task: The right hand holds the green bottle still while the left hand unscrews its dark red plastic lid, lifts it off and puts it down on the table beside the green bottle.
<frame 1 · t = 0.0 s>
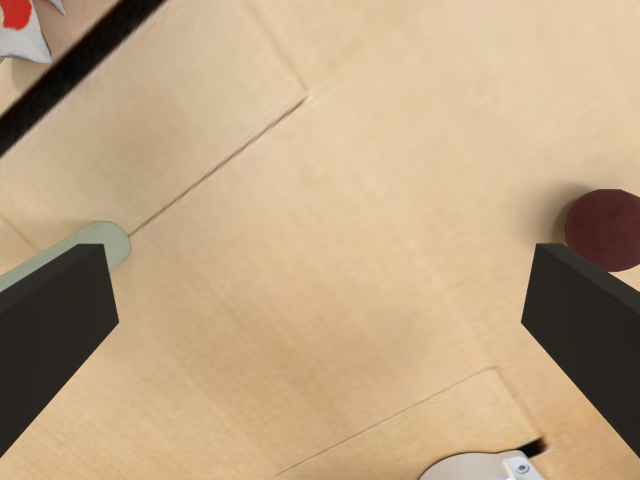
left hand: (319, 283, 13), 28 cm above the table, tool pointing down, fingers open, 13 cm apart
green bottle: (106, 243, 42), on the table
dark red ball: (585, 217, 41), on the table
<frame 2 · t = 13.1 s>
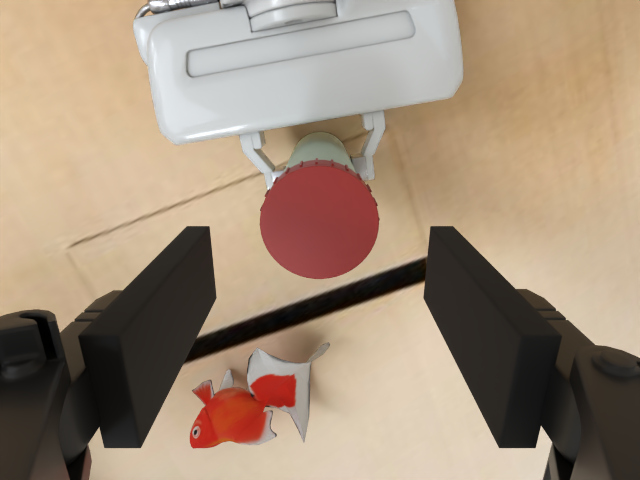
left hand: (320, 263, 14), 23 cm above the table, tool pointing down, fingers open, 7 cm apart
right hand: (322, 186, 30), fingers closed on green bottle, 5 cm apart
fish: (266, 365, 43), on the table
lid: (319, 222, 18), point 18 cm above the table, screwed on, not yet turned
green bottle: (319, 160, 35), on the table, touching right hand
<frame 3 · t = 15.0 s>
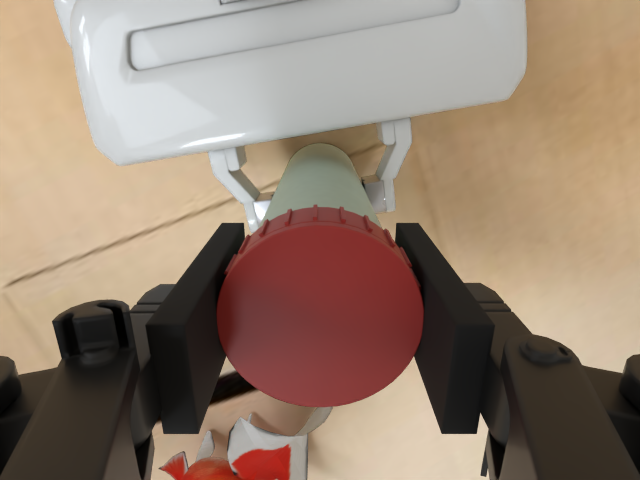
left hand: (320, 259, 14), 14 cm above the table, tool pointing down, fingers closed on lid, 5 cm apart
right hand: (323, 219, 22), fingers closed on green bottle, 5 cm apart
fish: (254, 425, 35), on the table
lid: (320, 317, 11), point 18 cm above the table, screwed on, not yet turned, touching left hand
green bottle: (320, 179, 28), on the table, touching right hand
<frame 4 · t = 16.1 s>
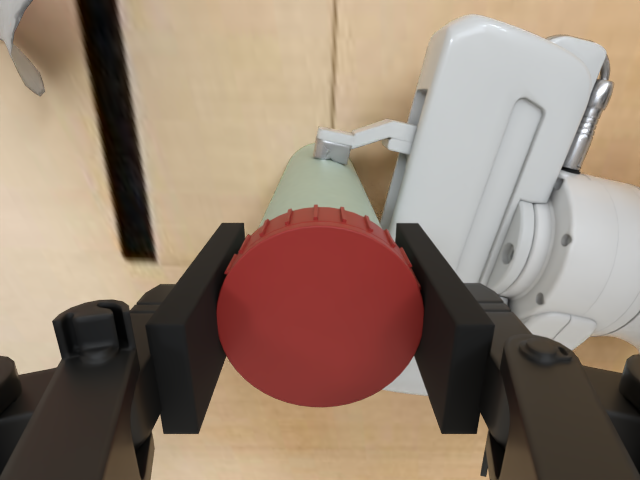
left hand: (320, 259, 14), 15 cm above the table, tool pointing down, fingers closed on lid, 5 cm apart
right hand: (303, 199, 22), fingers closed on green bottle, 5 cm apart
lid: (320, 317, 11), point 18 cm above the table, off its thread, touching left hand
green bottle: (320, 178, 28), on the table, touching right hand
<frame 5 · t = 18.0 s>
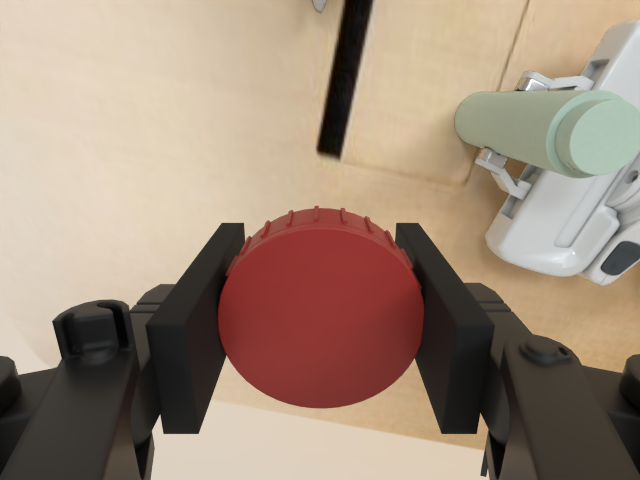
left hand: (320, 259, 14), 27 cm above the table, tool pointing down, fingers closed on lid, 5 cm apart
right hand: (500, 119, 32), fingers closed on green bottle, 5 cm apart
lid: (321, 319, 11), point 31 cm above the table, off its thread, touching left hand
green bottle: (480, 119, 38), on the table, touching right hand
when the left hand's fingers open (0 cm above the table, at t = 22.4 s): lid drops 3 cm, point 1 cm above the table.
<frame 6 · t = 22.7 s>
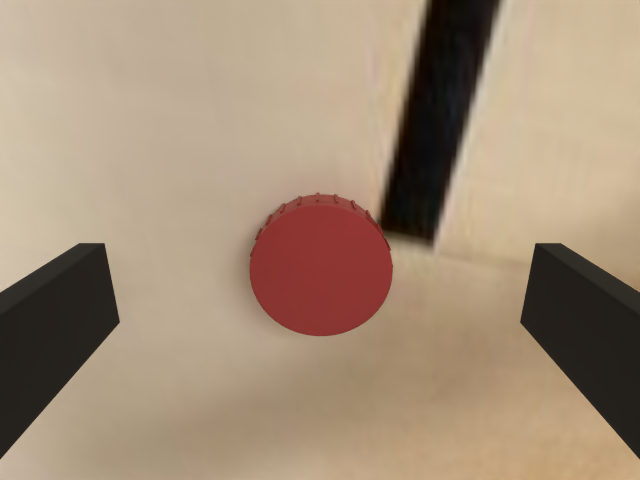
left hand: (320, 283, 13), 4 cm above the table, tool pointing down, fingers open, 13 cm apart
lid: (321, 270, 15), point 1 cm above the table, off its thread
when the right hand's fingers open (7 cm above the table, at t = 23.1 s): green bottle stays where it is, on the table.
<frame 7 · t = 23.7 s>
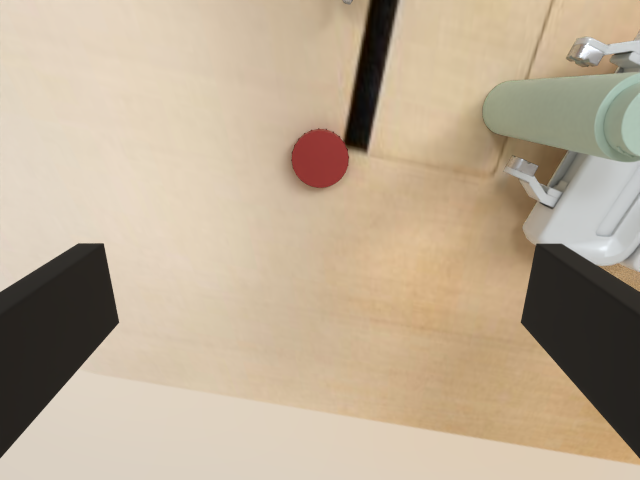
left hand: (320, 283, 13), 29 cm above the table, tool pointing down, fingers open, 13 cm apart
right hand: (541, 108, 32), fingers open, 8 cm apart
lid: (320, 159, 38), point 1 cm above the table, off its thread
green bottle: (508, 108, 38), on the table
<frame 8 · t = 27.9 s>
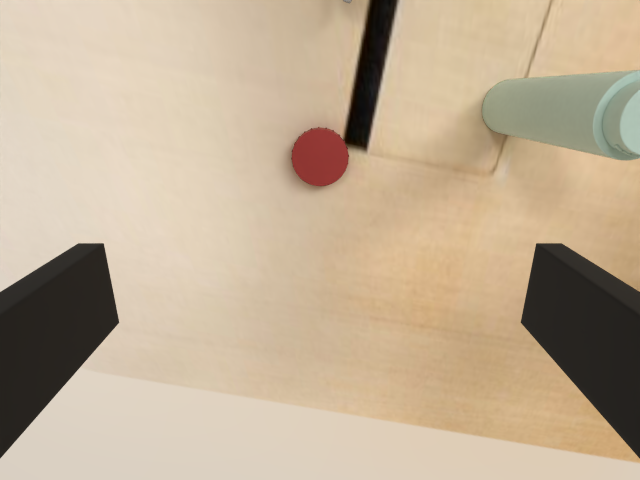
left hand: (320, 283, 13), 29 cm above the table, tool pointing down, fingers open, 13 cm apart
lid: (320, 157, 38), point 1 cm above the table, off its thread
green bottle: (507, 106, 38), on the table
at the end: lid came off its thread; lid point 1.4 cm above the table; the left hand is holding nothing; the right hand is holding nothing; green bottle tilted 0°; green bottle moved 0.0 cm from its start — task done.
